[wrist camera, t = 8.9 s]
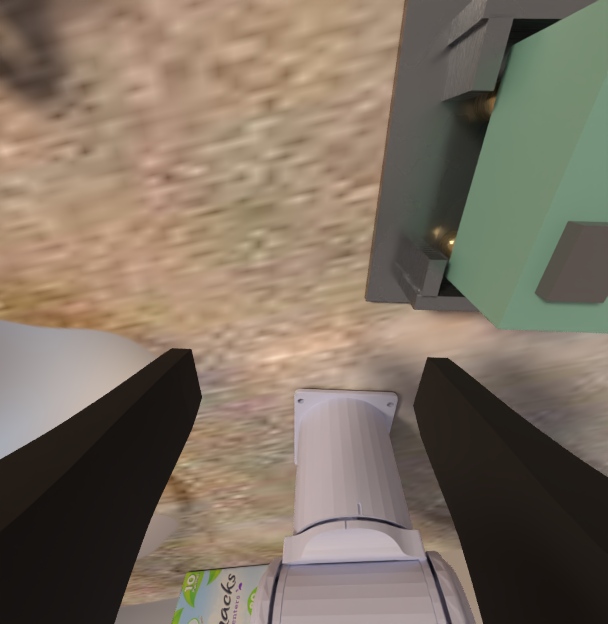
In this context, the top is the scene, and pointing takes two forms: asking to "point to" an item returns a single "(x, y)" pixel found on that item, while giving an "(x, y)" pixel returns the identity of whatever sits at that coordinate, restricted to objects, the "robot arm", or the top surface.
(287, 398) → the top surface
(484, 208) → the green knobbed block
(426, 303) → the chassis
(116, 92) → the top surface
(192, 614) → the snack box
